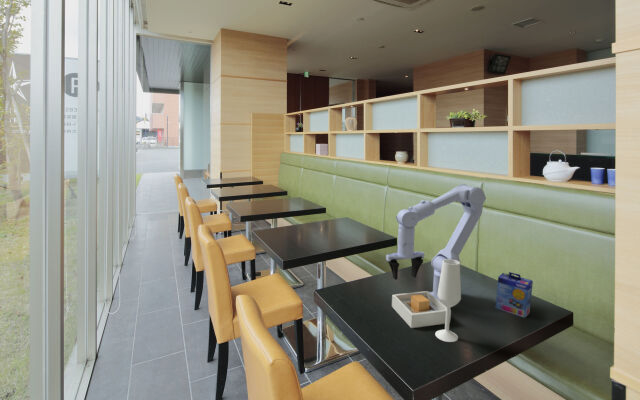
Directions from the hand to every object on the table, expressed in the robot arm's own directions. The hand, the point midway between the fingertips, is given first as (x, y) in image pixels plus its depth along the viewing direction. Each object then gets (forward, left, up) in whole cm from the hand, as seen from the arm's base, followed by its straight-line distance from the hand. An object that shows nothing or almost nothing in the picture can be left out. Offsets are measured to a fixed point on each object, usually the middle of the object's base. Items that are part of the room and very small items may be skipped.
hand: (404, 277), depth 129 cm
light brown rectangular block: (-1, +11, -9) cm, 14 cm away
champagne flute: (-2, +25, -9) cm, 27 cm away
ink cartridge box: (-34, +16, -9) cm, 38 cm away
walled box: (-1, +11, -9) cm, 14 cm away
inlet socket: (-1, +11, -9) cm, 14 cm away
